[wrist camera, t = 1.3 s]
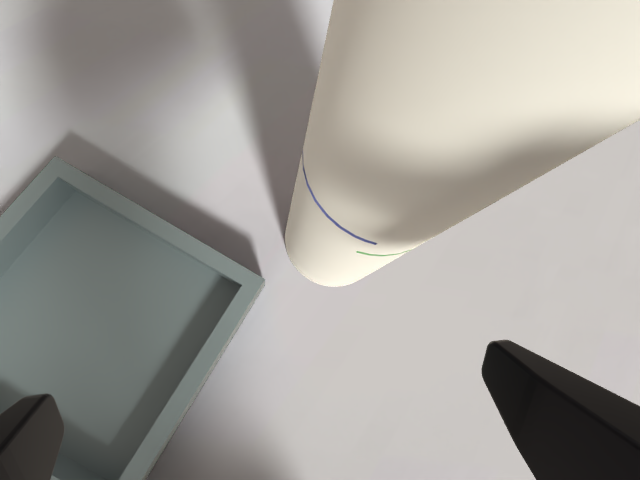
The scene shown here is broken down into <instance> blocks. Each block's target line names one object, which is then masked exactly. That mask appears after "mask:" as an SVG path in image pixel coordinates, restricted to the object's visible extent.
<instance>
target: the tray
mask: <svg viewBox="0 0 640 480" xmlns="http://www.w3.org/2000/svg"><path fill="white" fill-rule="evenodd" d="M264 286H265V279H264V278H262V277H260V276H259V275H257V274H255V273H254V272H252V271H250V270H248V269H247V268H245V267H243V266H242V265H240V264H238V263H237V262H235V261H233V260H231V259H230V258H228V257H226V256H225V255H223V254H221V253H220V252H218V251H216V250H214V249H213V248H211V247H209V246H208V245H206V244H204V243H203V242H201V241H199V240H197V239H196V238H194V237H192V236H191V235H189V234H187V233H185V232H184V231H182V230H180V229H179V228H177V227H175V226H174V225H172V224H170V223H168V222H167V221H165V220H163V219H162V218H160V217H158V216H157V215H155V214H153V213H151V212H150V211H148V210H146V209H145V208H143V207H141V206H140V205H138V204H136V203H134V202H133V201H131V200H129V199H128V198H126V197H124V196H123V195H121V194H119V193H117V192H116V191H114V190H112V189H111V188H109V187H107V186H106V185H104V184H102V183H100V182H99V181H97V180H95V179H94V178H92V177H90V176H89V175H87V174H85V173H83V172H82V171H80V170H78V169H77V168H75V167H73V166H72V165H70V164H68V163H66V162H65V161H63V160H61V159H60V158H58V157H56V156H55V157H54V158H53V159H52V160H51V161H50V162H49V163H48V164H47V166H46V167H45V168H44V169H43V170H42V171H41V172H40V173H39V174H38V175H37V177H36V178H35V179H34V180H33V181H32V182H31V183H30V184H29V185H28V186H27V188H26V189H25V190H24V191H23V192H22V193H21V194H20V195H19V196H18V197H17V199H16V200H15V201H14V202H13V203H12V204H11V205H10V206H9V207H8V208H7V210H6V211H5V212H4V213H3V214H2V215H1V216H0V414H1V413H2V412H4V411H5V410H6V409H8V408H9V407H10V406H12V405H13V404H14V403H16V402H17V401H18V400H20V399H21V398H23V397H25V396H29V395H37V394H45V393H47V394H51V395H52V396H53V397H54V399H55V401H56V404H57V407H58V409H59V412H60V414H61V417H62V419H63V422H64V436H63V440H62V443H61V446H60V450H59V453H58V456H57V460H56V463H55V466H54V470H53V473H52V476H51V479H50V480H146V478H147V477H148V475H149V473H150V472H151V470H152V468H153V467H154V465H155V464H156V462H157V460H158V459H159V457H160V455H161V454H162V452H163V450H164V449H165V447H166V446H167V444H168V442H169V441H170V439H171V437H172V436H173V434H174V433H175V431H176V429H177V428H178V426H179V424H180V423H181V421H182V420H183V418H184V416H185V415H186V413H187V411H188V410H189V408H190V406H191V405H192V403H193V402H194V400H195V398H196V397H197V395H198V393H199V392H200V390H201V389H202V387H203V385H204V384H205V382H206V380H207V379H208V377H209V375H210V374H211V372H212V371H213V369H214V367H215V366H216V364H217V362H218V361H219V359H220V358H221V356H222V354H223V353H224V351H225V349H226V348H227V346H228V344H229V343H230V341H231V340H232V338H233V336H234V335H235V333H236V331H237V330H238V328H239V327H240V325H241V323H242V322H243V320H244V318H245V317H246V315H247V314H248V312H249V310H250V309H251V307H252V305H253V304H254V302H255V300H256V299H257V297H258V296H259V294H260V292H261V291H262V289H263V287H264Z"/></svg>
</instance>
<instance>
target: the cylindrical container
mask: <svg viewBox="0 0 640 480" xmlns="http://www.w3.org/2000/svg"><path fill="white" fill-rule="evenodd" d="M638 120H640V0H334V2H333V6H332V11H331V16H330V21H329V26H328V30H327V35H326V40H325V45H324V50H323V54H322V59H321V64H320V69H319V73H318V78H317V83H316V88H315V93H314V97H313V102H312V107H311V112H310V116H309V121H308V126H307V131H306V136H305V140H304V145H303V150H302V154H301V159H300V164H299V168H298V173H297V178H296V182H295V187H294V192H293V197H292V201H291V206H290V211H289V216H288V221H287V226H286V231H285V245H286V249H287V253H288V256H289V258H290V260H291V262H292V263H293V265H294V266H295V267H296V269H297V270H298V271H299V272H300V273H301V274H302V275H303V276H304V277H306V278H308V279H309V280H311V281H312V282H315V283H318V284H320V285H324V286H330V287H336V286H344V285H349V284H352V283H354V282H356V281H358V280H360V279H362V278H363V277H365V276H367V275H368V274H370V273H372V272H374V271H375V270H377V269H379V268H381V267H382V266H384V265H386V264H388V263H389V262H391V261H393V260H395V259H396V258H398V257H400V256H402V255H403V254H405V253H407V252H408V251H410V250H412V249H414V248H415V247H417V246H419V245H421V244H422V243H424V242H426V241H428V240H430V239H431V238H433V237H435V236H437V235H438V234H440V233H442V232H444V231H445V230H447V229H449V228H451V227H452V226H454V225H456V224H458V223H459V222H461V221H463V220H465V219H466V218H468V217H470V216H472V215H474V214H475V213H477V212H479V211H481V210H482V209H484V208H486V207H488V206H489V205H491V204H493V203H495V202H496V201H498V200H500V199H502V198H503V197H505V196H507V195H509V194H510V193H512V192H514V191H516V190H517V189H519V188H521V187H523V186H524V185H526V184H528V183H530V182H531V181H533V180H535V179H537V178H538V177H540V176H542V175H544V174H545V173H547V172H549V171H551V170H552V169H554V168H556V167H558V166H559V165H561V164H563V163H565V162H566V161H568V160H570V159H572V158H573V157H575V156H577V155H579V154H580V153H582V152H584V151H586V150H588V149H589V148H591V147H593V146H595V145H596V144H598V143H600V142H602V141H603V140H605V139H607V138H609V137H610V136H612V135H614V134H616V133H617V132H619V131H621V130H623V129H624V128H626V127H628V126H630V125H631V124H633V123H635V122H637V121H638Z"/></svg>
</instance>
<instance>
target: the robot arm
mask: <svg viewBox="0 0 640 480" xmlns="http://www.w3.org/2000/svg"><path fill="white" fill-rule="evenodd" d="M482 377H483V380H484V382H485V384H486V386H487V388H488V390H489V392H490V394H491V396H492V398H493V400H494V402H495V404H496V407H497V409H498V411H499V413H500V415H501V417H502V419H503V421H504V423H505V425H506V427H507V429H508V431H509V433H510V435H511V437H512V439H513V441H514V443H515V445H516V446H517V448H518V450H519V452H520V453H521V455H522V457H523V458H524V460H525V462H526V463H527V465H528V467H529V468H530V470H531V472H532V473H533V475H534V477H535V478H536V480H640V406H638V405H636V404H634V403H632V402H630V401H628V400H626V399H624V398H622V397H620V396H618V395H616V394H614V393H612V392H611V391H609V390H607V389H605V388H603V387H601V386H599V385H597V384H595V383H593V382H591V381H589V380H587V379H585V378H583V377H581V376H579V375H577V374H575V373H573V372H571V371H569V370H567V369H565V368H563V367H561V366H559V365H557V364H555V363H553V362H551V361H549V360H547V359H545V358H543V357H541V356H539V355H537V354H535V353H533V352H531V351H529V350H527V349H525V348H523V347H521V346H519V345H518V344H516V343H514V342H512V341H509V340H499V341H492V342H490V343H489V344H488V346H487V350H486V354H485V357H484V361H483V365H482ZM63 436H64V422H63V419H62V417H61V414H60V412H59V409H58V407H57V404H56V401H55V399H54V397H53V396H52V395H51V394H47V393H45V394H37V395H29V396H25V397H23V398H21V399H20V400H18V401H17V402H16V403H14V404H13V405H12V406H10V407H9V408H8V409H6V410H5V411H4V412H2V413H1V414H0V480H50V479H51V476H52V473H53V470H54V466H55V463H56V460H57V456H58V453H59V450H60V446H61V443H62V440H63Z"/></svg>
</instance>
